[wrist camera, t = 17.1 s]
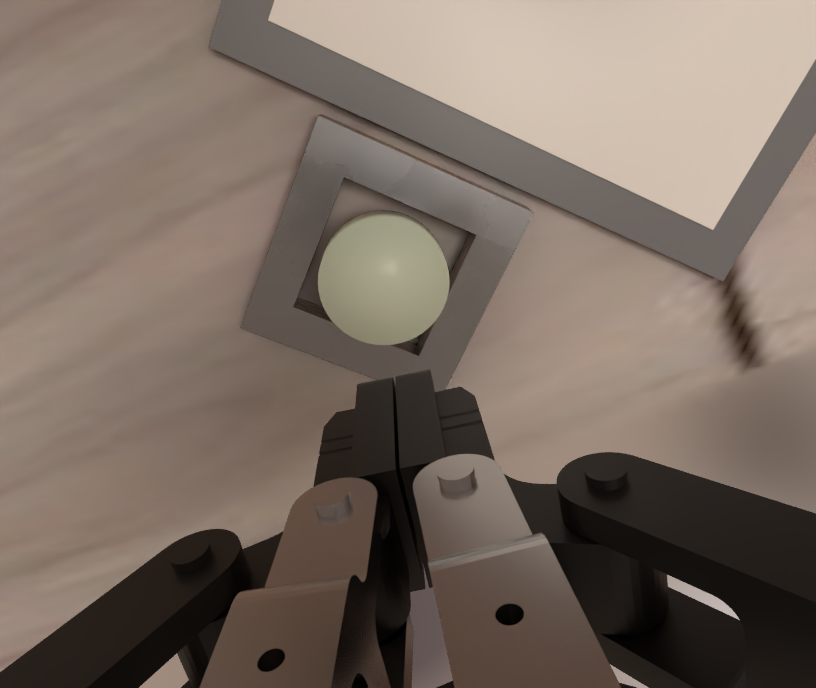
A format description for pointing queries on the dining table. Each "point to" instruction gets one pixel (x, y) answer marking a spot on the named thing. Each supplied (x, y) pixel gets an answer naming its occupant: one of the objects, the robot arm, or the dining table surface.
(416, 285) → the button
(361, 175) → the button housing
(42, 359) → the dining table surface
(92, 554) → the dining table surface
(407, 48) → the clipboard
